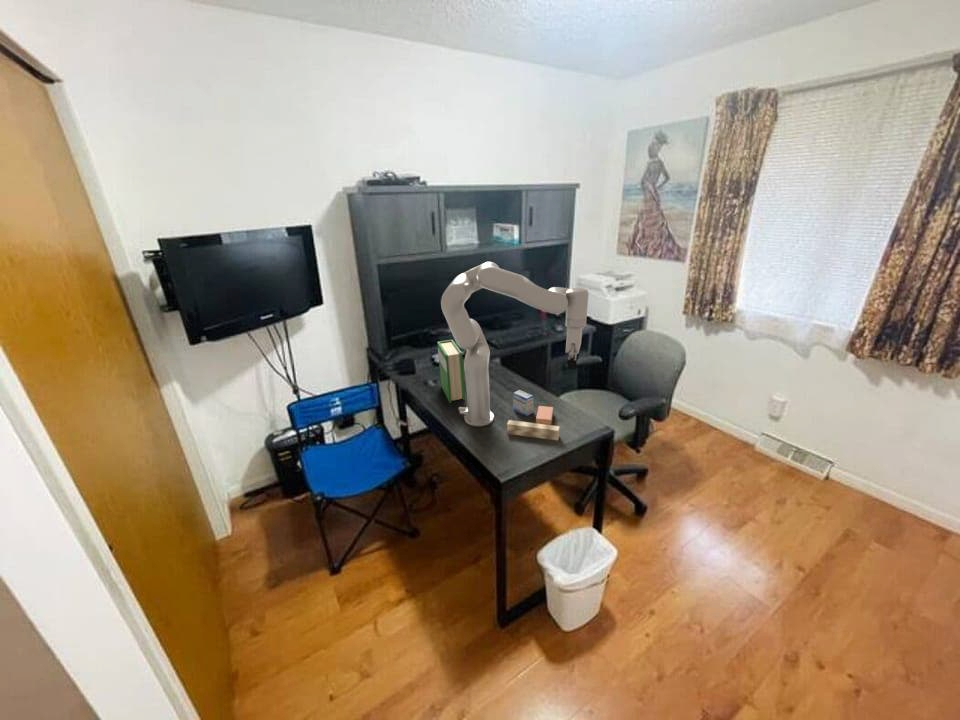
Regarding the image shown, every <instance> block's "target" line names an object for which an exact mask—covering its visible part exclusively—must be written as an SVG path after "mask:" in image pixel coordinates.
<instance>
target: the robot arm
mask: <svg viewBox="0 0 960 720" xmlns="http://www.w3.org/2000/svg"><path fill="white" fill-rule="evenodd" d="M481 289H486V290H488V291H492V292H494V293H497V294H501V295H504V296H506V297H510V298H514V299H516V300H517V301H520V302H522V303H523V304H525V305H528V306H530V307H532V308H535V309H537V310H538V311H539V310H540V311H542V312H543V311H544V312H546V313H549V314H554V315H560V314H562V313H564V312H565V323H564V324H565V327H566V328H567V329H566V330H567V331H566V340H565V341H566V343H565V351H564V352H565V353H566V354H568V358H567V369H568V370H572V371H575V370H577V362H578V360H579V356H580V349H581V345H582V338H583V329H584V328H586V327H587V317H588V306H589V305H588V304H589V303H588V302H589V291H588V289H586V288H584V287H583V288H582V287H572V288H569V287H560V286H553V287H550V288H549V289H547V288H544V287H541V286H539V285H537V284H535V283H534V282H533V281H531V280H530V279H529V278H527V277H526V276H524V275H522V274H519V273H516V272H512V271H509V270H507V269H503V268H500V266H499V265H498V264H497V263H495V262H492V261H486V262H484V263H482V264H480V265H477V266H475V267H473V268H470V269H468V270H467V271H464V272H462V273H460V274H458V275H457V276H455V278H453V280H452V281H451V282H450V284H448V286H447V287H446V289H445V290H444V292H443V293H442V296H441V299H440V306H441V310H442V314H443V316H444V318H445V320H446V323H447V325H448V328H449V330H450V332H451V334H452V336H453V337H452V338H453V339H454V342H455V344H456V345H457V346H458V348H459V349H462V350H464V351H466V352H465V357H464V360H463V373H464V377H465V378H464V379H465V389H466V392H465V393H466V407H465V406H459V407H458V411H459V415H464V416H463V417H464V421H465V423H466V424H467V425H469V426H472V427H484V426H488V425H490V424H491V423H493V421H494V419H495V415H494V413H493V412H492V411H491V402H490V401H491V400H490V398H491V397H490V396H491V395H490V373H489V362H490V356H491V352H490V351H491V350H490V348H489V345H488V342H487V339H486V337H485V335H484V333H483V330H482V328H481V326H480V323H478V321H476V320H475V319H473V318H470V316H469V314H468V311H467V309H466V308H465V303H466V301H467V300H469V298H471V295H472V294H473V293H475V292H477V291H480V290H481Z"/></svg>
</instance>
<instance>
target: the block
mask: <svg viewBox="0 0 960 720" xmlns="http://www.w3.org/2000/svg"><path fill="white" fill-rule="evenodd" d="M553 413H554V407H553V406H545V405H544V406H543V405H538V407H537V413H536V418H535V423H537V424H545V425H552V421H553V416H554V415H553Z"/></svg>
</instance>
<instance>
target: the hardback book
mask: <svg viewBox="0 0 960 720" xmlns="http://www.w3.org/2000/svg"><path fill="white" fill-rule="evenodd" d="M436 342H437V353H438V355H437V356H438V363H439V374H440V375H439V376H440V386H441V389H442V390H443V393H444V395H445V396H446V399H447V401H448V403H449V404H452V403H453V402H452V401H457V400H463V401H466V392H465V380H464V379H465V378H464V377H465V374H464V360H463V352H462V350H461V348H460V347H459V346H458V345H457V343H456V341H455V340H453V339H447V340H446V339H445V340H440V341H436Z"/></svg>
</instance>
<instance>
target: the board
mask: <svg viewBox="0 0 960 720" xmlns="http://www.w3.org/2000/svg"><path fill="white" fill-rule="evenodd" d="M560 427H561V426H559V425H552V424H551V425H545V424H537V423H536V422H528V421H521V420H520V421H519V420H512V419H508V421H507V423H506V429H507V430H506V431H507V432H506V434H507V435H516V436H522V437H529V438H537V439H544V440H550V441H551V440H552V441H559V438H560Z"/></svg>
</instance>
